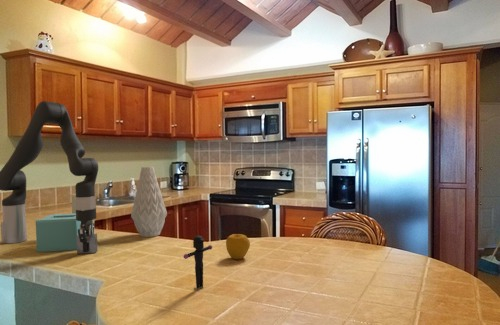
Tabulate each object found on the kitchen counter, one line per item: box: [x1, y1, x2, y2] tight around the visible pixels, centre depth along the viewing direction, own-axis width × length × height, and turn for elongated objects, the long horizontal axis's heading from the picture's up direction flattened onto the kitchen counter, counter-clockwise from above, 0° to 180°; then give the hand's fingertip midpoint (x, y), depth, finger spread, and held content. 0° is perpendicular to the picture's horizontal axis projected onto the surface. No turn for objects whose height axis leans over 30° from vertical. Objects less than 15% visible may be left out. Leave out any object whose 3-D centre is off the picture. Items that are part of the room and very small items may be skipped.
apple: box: [225, 233, 251, 260], centre depth 137 cm, size 8×8×9 cm
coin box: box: [35, 212, 81, 253], centre depth 164 cm, size 16×16×13 cm
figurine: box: [183, 235, 213, 291], centre depth 107 cm, size 12×4×15 cm, turn 149°
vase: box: [130, 166, 168, 238], centre depth 181 cm, size 17×17×33 cm
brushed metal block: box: [76, 233, 99, 255], centre depth 152 cm, size 7×3×7 cm, turn 96°
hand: (87, 250), depth 152 cm, fingers closed on brushed metal block, 3 cm apart
